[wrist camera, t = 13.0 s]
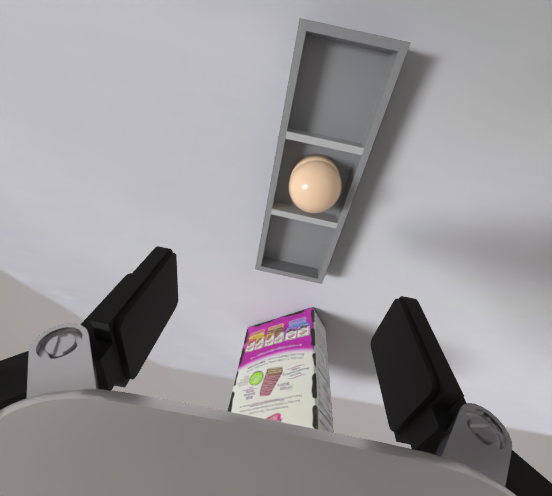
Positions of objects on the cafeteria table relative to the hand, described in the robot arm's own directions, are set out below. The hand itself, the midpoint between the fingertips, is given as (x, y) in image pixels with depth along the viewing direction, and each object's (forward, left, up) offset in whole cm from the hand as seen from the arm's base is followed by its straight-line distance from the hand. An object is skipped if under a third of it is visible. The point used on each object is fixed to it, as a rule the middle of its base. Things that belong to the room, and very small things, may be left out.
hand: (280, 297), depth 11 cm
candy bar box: (+23, +4, -19) cm, 30 cm away
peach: (0, +2, -18) cm, 18 cm away
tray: (0, +2, -19) cm, 19 cm away
